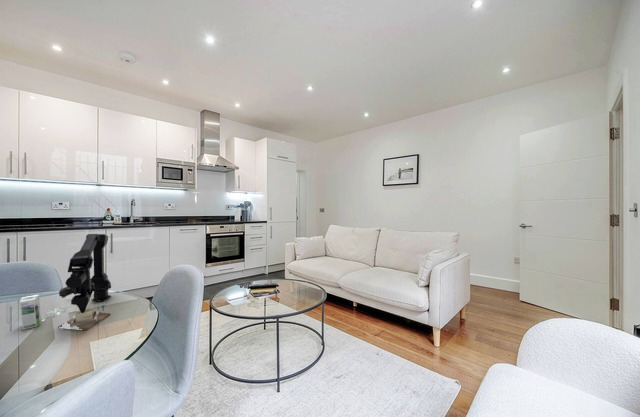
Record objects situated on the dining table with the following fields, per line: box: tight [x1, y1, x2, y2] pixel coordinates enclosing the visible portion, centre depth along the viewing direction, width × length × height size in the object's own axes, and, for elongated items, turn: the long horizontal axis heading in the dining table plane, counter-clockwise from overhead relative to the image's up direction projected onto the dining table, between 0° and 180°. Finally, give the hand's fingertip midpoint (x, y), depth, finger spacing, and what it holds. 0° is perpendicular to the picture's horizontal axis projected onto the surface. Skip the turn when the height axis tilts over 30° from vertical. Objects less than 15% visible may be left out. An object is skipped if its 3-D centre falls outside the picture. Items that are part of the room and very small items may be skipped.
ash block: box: [74, 306, 95, 323], centre depth 131 cm, size 6×6×5 cm
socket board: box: [57, 309, 111, 332], centre depth 132 cm, size 14×14×2 cm
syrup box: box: [19, 293, 42, 331], centre depth 125 cm, size 6×6×14 cm
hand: (84, 308), depth 131 cm, fingers open, 9 cm apart
